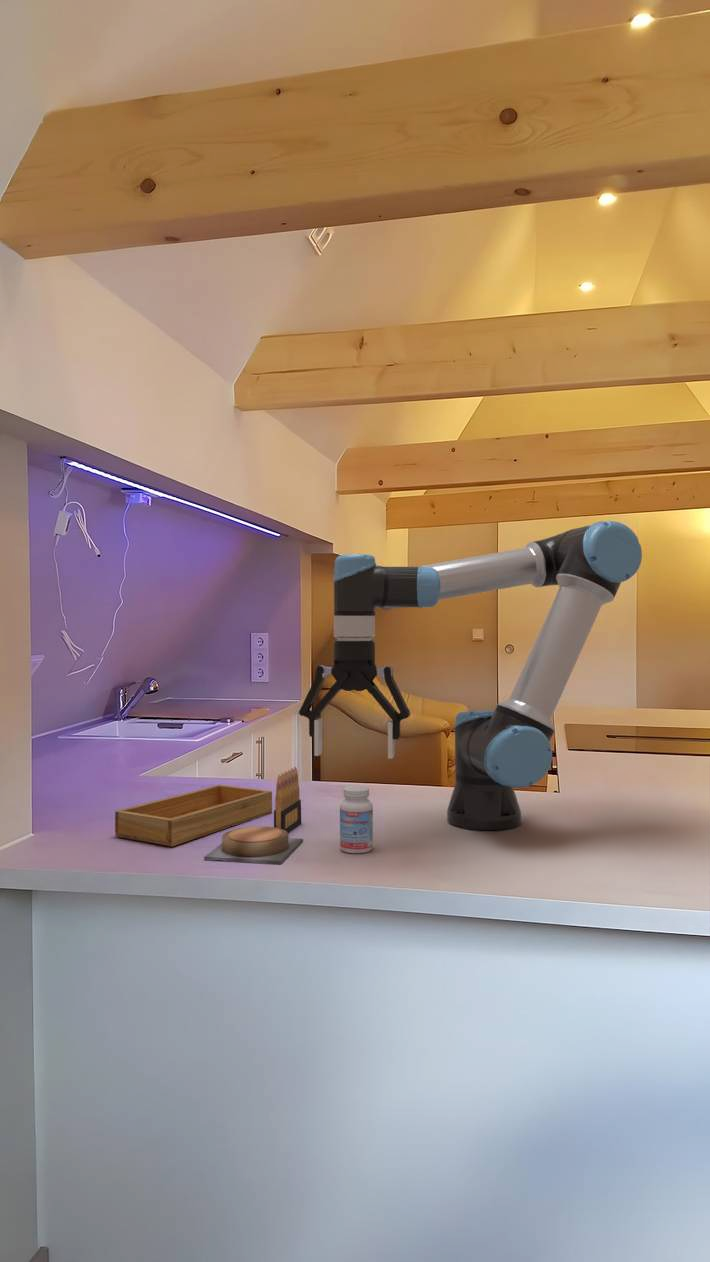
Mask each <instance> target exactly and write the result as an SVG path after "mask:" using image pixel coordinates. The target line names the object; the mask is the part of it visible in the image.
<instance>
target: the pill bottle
mask: <svg viewBox="0 0 710 1262" xmlns="http://www.w3.org/2000/svg"><path fill="white" fill-rule="evenodd" d="M342 794H343V798H345V799H343V800H341V802H340V804H339V847H340V850H341V851H342V852H343V853H349V854H364V853H365V854H366V853H368V852H370V851H372V849H373V846H374V845H373V842H374V841H373V840H374V837H373V836H374V831H373V830H374V821H373V820H374V813H373V812H374V811H373V810H374V806H373V803H372V801H371V799H368V798H369V797H370V796H369V795H370V788H369V787H368V786H365V785H348V786H346V787H344V788H343V793H342Z"/></svg>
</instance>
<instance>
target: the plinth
mask: <svg viewBox="0 0 710 1262" xmlns="http://www.w3.org/2000/svg"><path fill="white" fill-rule="evenodd" d="M303 842H304V839H303V838H301V837H300V838H297V837H295V838H294V837H289V833H288V832H287V831H285V830H283V829H279V828H274V826H273V827H271V826H248V827H241V828H235V829H232V830H229V831H227V832H225V833H223V834H222V836H221V844H219V845H218V846H217V847H215V848H214V849H213V850H211V851H209V852H208V853H207V854H206V855H205V856H203V859H205V860H204V861H211V860H224V861H223V862H229V861H238V862H237V863H246V862H250V864H264V863H266V864H265V865H282V864H283V863H284V862H285V861H286V860H287V859H289V857H290V856H291V855H292V854H293V852H294V851H296V849H298V847H299V846H300V845H302V844H303Z"/></svg>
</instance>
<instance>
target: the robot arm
mask: <svg viewBox="0 0 710 1262" xmlns="http://www.w3.org/2000/svg"><path fill="white" fill-rule="evenodd" d="M642 557H643V551H642V545H641V544H640V542H639V538H638V536H637V535H636V533H635V532H634V530H632V529H631V528H630V527H629V526H627V525H626V524H624V523H622V522H619V521H614V520H608V521H603V520H602V521H596V522H594V523H592V524H590V525H584V526H581V527H577V528H573V529H570V530H567V531H565V532H562V533H558V534H556V535H553V536H550V537H547V538H544V539H540V540H534V541H529V542H527V544H526V545H525V547H522V548H516V549H511V550H504V551H500V552H493V553H488V554H482V555H477V556H471V557H465V558H460V559H453V560H447V561H441V562H436V563H430V564H423V565H419V566H382V565H377V562H376V557H375V556H374V555H371V554H363V553H345V554H341V555H338V556H337V557H336V559H335V560H334V570H333V579H332V581H333V615H334V616H333V637H334V638H336V640H335V641H334V642H333V665H332V667H330V666H325V665H318V666H317V667H316V670H315V678H314V679H313V680H314V681H313V682H312V685H311V686H310V689H309V690H308V693H307V695H306V696H305V699H304V701H303V703H302V705H301V707H300V708H299V711H298V715H299V716H301V717H304V718H307V720H308V735H309V737H310V738H311V737H312V738H314V739H313V740H314V744H313V746H314V747H313V749H314V750H313V751H314V754H313V755H314V757H319V756H321V755H323V719H322V718H318V717H319V716H320V715H321V713H322V712H324V710H325V708H326V707H327V706H328V705H329V704H330V703H331V702H332V700H333V699H334V698H335V697H336V696H337V694H338V693H339V692H340V691H341V690H343V691H344V692H350V691H355V692H364V691H365V690H366V691H367V692H368V693H369V694H370V695H371V696H372V697H373V698H374V700H375V701H376V703H378V705H379V706H380V707H381V708H382V709H383V710H384V712H385V713H386V714H387V715H388V717H389V718H390V719H391V720H389V721H388V722H387V760H388V759H391V760H392V759H393V758H394V757H395V740H399V739H400V737H401V721H402V720H406V719H408V718H409V717H410V716H411V710H410V709H409V707H408V705H407V702H406V701H405V699H404V697H403V695H402V692H401V691H400V689H399V687H398V684H397V682H396V681H395V679H394V673H393V672H394V671H393V667H392V666H389V665H387V666H386V667H385V666H384V667H378V668H377V666H376V665H377V664H376V643H375V641H374V640H373V638H375V637H376V608H380V609H382V610H387V611H388V610H392V609H404V608H405V609H407V608H418V609H422V608H433V607H435V606H437V604H438V602H439V601H440V600H446V599H453V598H458V597H463V596H469V595H470V596H471V595H476V594H480V593H481V594H482V593H486V592H487V593H488V592H492V591H493V592H494V591H497V590H503V589H510V588H515V587H521V586H526V585H527V586H528V585H531V586H533V587H535V588H542V587H543V588H544V587H549V586H558V591H557V592H556V596H555V597H554V599H553V601H552V604H551V606H550V608H549V611H548V612H547V614H546V617H545V619H544V622H543V624H542V626H541V628H540V630H539V632H538V635H537V637H536V639H535V642H534V643H533V646H532V648H531V650H530V652H529V653H528V656H527V659H526V661H525V663H524V665H523V668H522V670H521V672H520V674H519V677H518V678H517V681H516V682H515V685H514V688H513V689H512V692H511V694H510V697H509V698H508V699H507V700H506V699H505V700H504V701H502V702H499V703H497V705H496V707H495V709H494V710H492V709H491V710H489V709H488V710H470V711H469V710H467V711H459V712H458V713H457V714H456V715H455V717H454V718H455V719H454V721H455V723H454V727H453V730H454V759H455V760H454V761H455V762H454V763H455V764H454V765H455V769H454V771H455V776H454V777H455V778H454V779H455V780H454V782H455V783H454V787H453V791H452V794H451V797H450V800H449V802H448V806H447V811H446V814H447V815H446V817H447V819H446V820H447V822H448V823H449V824H451V825H453V826H456V827H459V828H463V829H469V830H476V831H477V830H478V831H500V830H501V831H502V830H509V829H513V828H516V827H519V826H520V825H522V810H521V808H520V805H519V802H518V798H517V795H516V792H515V789H516V788H517V789H522V788H527V787H531V786H533V785H535V784H536V783H538V782H540V781H541V780H542V779H543V778H544V777H545V775H547V773H548V771H549V770H550V767H551V765H552V761H553V750H552V746H551V743H550V742H551V740H552V737H553V735H554V733H555V730H556V728H555V725H554V723H553V721H552V717H553V714H554V712H555V710H556V707H557V706H558V703H559V701H560V699H561V696H562V695H563V693H564V690H565V687H566V685H567V683H568V681H569V679H570V677H571V674H572V672H573V670H574V668H575V666H576V663H577V661H578V658H579V657H580V655H581V652H582V651H583V648H584V646H585V643H586V641H587V639H588V637H589V634H590V632H591V631H592V628H593V626H594V623H595V621H596V620H597V617H598V614H599V612H600V610H601V608H602V606H604V605H606V604H608V603H611V602H613V601H614V600H615V596H616V595H617V593H618V590H619V588H620V586H621V584H622V582H626V581H628V580H630V579H631V578H632V577H633V576H634V575H635V574H636V573H637V571H638V570H639V569H640V566H641V563H642V559H643V558H642ZM330 674H331V675H332V677H333V679H334V680H335V682H334V684H333V685H332V686H331V687H330V688H329V690H328V691H327V692H326V693H325V695H324V696H323V698H321V700H320V701H318V703H317V704H316V705H315V707H314V708H313V709H312V710H311V708H312V706H313V704H314V702H315V700H316V698H317V696H318V694H319V693H320V690H321V688H322V686H323V684H324V681H325V679H326V678H328V677H329V676H330ZM377 676H380V678H381V679H382V680H384V681H385V684H386V686H387V689H388V690H389V692H390V694H391V696H392V699H393V700H394V703H395V705H396V706H397V709H398V711H399V712H398V711H397V709H396V708H395V707H394V706H393V704H391V702H390V701H389V700H388V699H387V697H386V696H385V695H384V694H383V693H382V691H381V690H380V689H379V687H378V686H377V684H376V683H375V682H374V680H375V678H376V677H377ZM514 788H515V789H514Z"/></svg>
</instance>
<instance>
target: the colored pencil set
mask: <svg viewBox="0 0 710 1262" xmlns="http://www.w3.org/2000/svg"><path fill="white" fill-rule="evenodd" d="M275 785H276V787H275V788H276V789H275V798H274V799H275V806H274V807H275V808H274V809H273V827H274V828H279V829H283V830H285V831H287V832H288V834H290V833H291V832H292V831H294V830H295V829H297V828H298V827H299V826H300V825H302V800H301V799H300V784H299V772H298V768H297V767H296V766H294V767H291V769H288V770H287V771H286V770H285V771H284V773H283V772H281V774H278V776H277V778H276V784H275Z"/></svg>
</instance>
